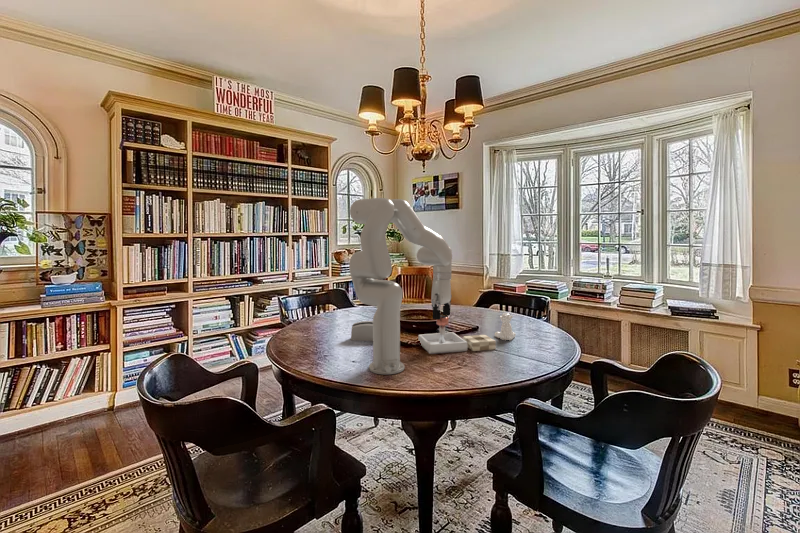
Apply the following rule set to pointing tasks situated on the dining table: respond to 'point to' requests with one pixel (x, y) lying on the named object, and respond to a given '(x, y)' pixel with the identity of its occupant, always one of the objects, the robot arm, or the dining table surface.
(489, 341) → the block
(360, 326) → the grey arched block
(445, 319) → the handwheel pin
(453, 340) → the tray
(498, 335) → the white creature statuette
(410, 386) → the dining table surface
